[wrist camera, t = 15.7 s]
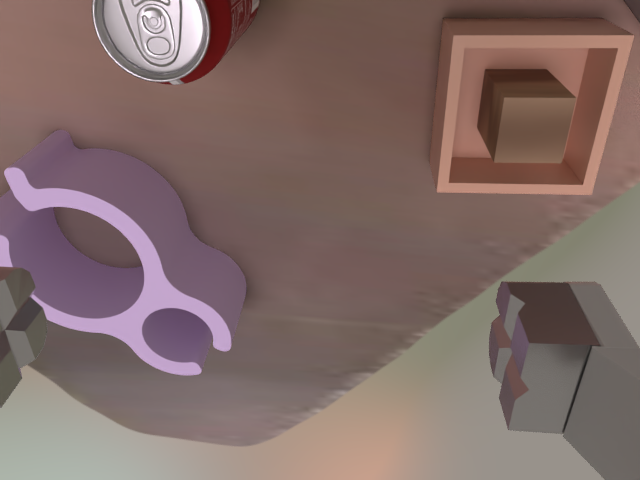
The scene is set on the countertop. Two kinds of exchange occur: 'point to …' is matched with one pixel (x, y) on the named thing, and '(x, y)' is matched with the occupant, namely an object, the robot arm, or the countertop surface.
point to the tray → (634, 7)
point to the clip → (111, 282)
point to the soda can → (170, 35)
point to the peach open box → (525, 53)
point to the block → (524, 115)
